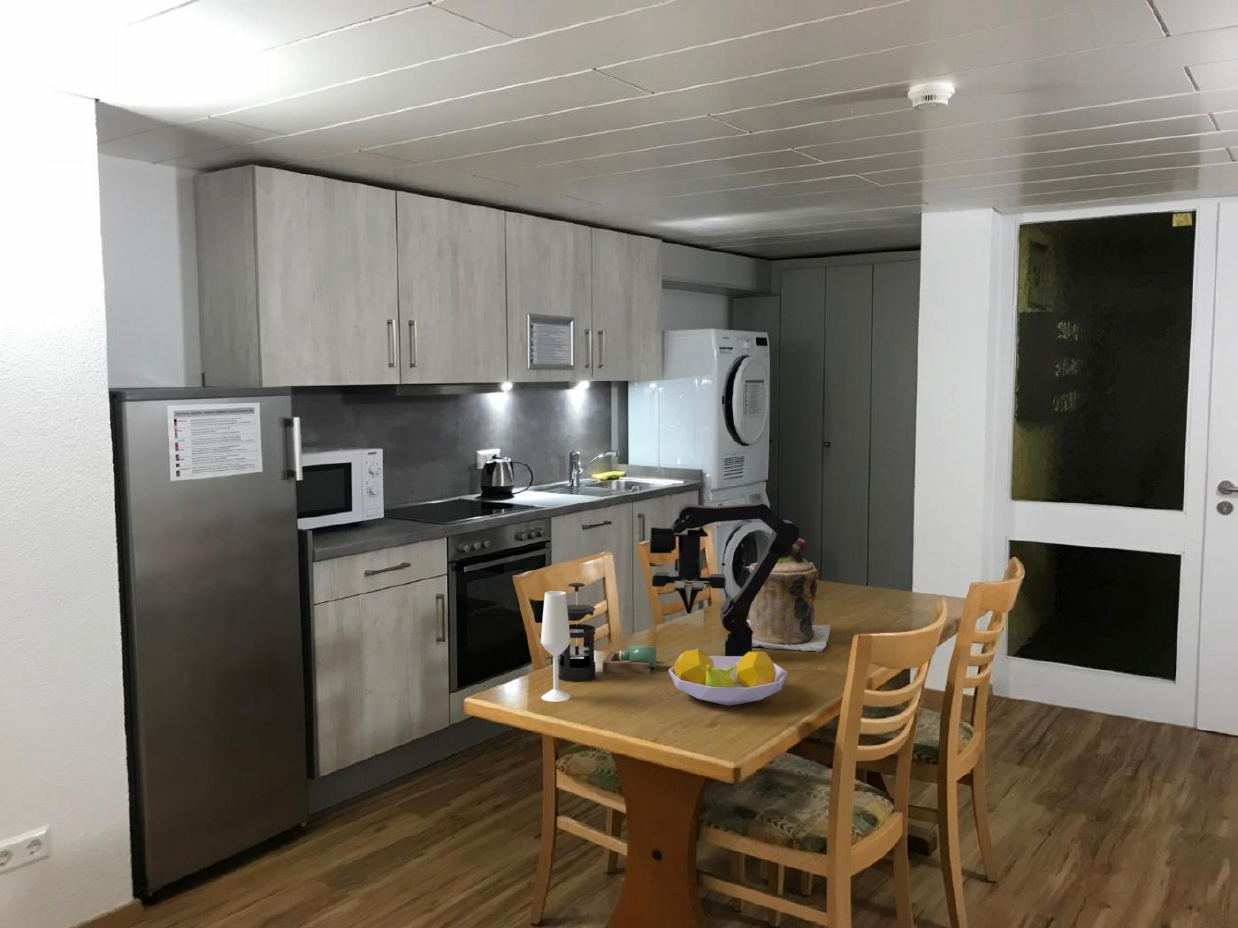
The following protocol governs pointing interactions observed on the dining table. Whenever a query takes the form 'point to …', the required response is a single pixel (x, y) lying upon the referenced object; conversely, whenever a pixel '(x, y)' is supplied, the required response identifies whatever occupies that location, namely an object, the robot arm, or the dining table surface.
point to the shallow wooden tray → (623, 665)
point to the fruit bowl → (727, 676)
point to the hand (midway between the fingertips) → (689, 613)
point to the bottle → (640, 655)
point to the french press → (578, 666)
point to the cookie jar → (788, 606)
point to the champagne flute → (555, 637)
